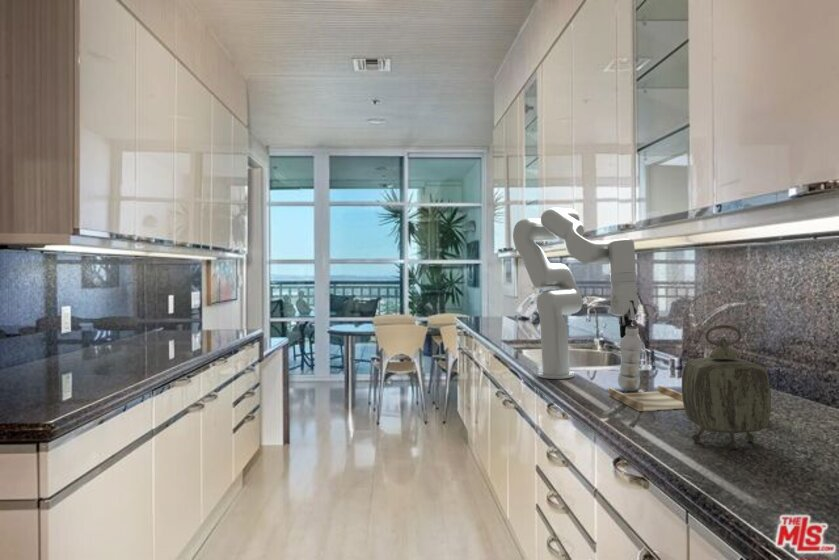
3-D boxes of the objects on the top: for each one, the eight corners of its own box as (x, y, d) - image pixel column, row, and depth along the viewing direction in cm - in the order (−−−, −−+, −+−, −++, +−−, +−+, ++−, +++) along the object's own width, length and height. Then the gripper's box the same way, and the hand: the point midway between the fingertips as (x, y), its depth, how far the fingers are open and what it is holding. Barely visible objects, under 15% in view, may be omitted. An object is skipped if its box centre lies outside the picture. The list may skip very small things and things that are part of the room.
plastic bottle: (640, 385, 166) (644, 325, 162) (638, 394, 161) (642, 332, 156) (618, 382, 169) (622, 322, 164) (615, 391, 163) (619, 329, 159)
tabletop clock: (754, 439, 114) (749, 322, 114) (778, 452, 105) (772, 326, 105) (684, 439, 115) (678, 324, 115) (701, 453, 106) (695, 328, 106)
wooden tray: (609, 395, 160) (609, 388, 160) (661, 392, 160) (661, 385, 160) (639, 411, 140) (639, 403, 140) (699, 408, 140) (698, 400, 140)
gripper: (602, 279, 172) (605, 336, 172) (621, 279, 158) (625, 341, 157) (624, 278, 173) (627, 335, 173) (646, 277, 158) (649, 339, 158)
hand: (626, 337), depth 165 cm, fingers closed
